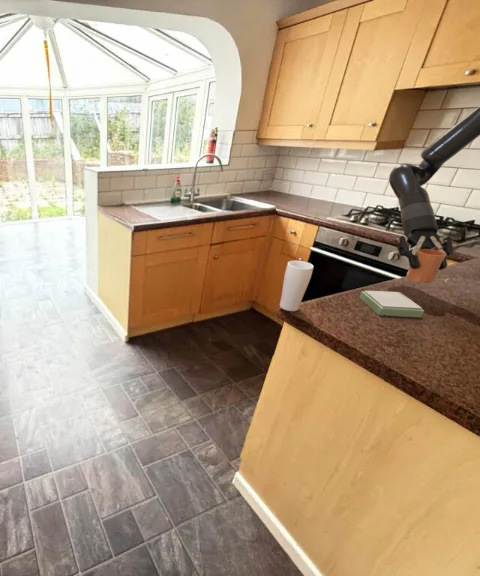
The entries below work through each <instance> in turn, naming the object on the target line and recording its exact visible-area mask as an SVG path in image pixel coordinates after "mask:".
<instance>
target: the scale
mask: <svg viewBox="0 0 480 576" xmlns="http://www.w3.org/2000/svg"><path fill="white" fill-rule="evenodd" d="M358 298H359V300H361V301H362V302H363V303H364V304H366V305H367V306H368V308H370V310H372V311H373V312H375V313H376V314H377V315H378V316H384V315H385V316H386V317H400V318H401V317H403V318H404V317H405V318H422V317H423V314H424V312H425V310H424V309H423V308H422V306H421V305H418V304H417V303H415V302H414V301H413V300H412V299H410V298H409V297H408V296H406V295H405V294H403V292H400V291H384V290H364V291H360V294H359V297H358Z"/></svg>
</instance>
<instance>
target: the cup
mask: <svg viewBox="0 0 480 576" xmlns="http://www.w3.org/2000/svg"><path fill="white" fill-rule="evenodd" d="M433 249H434V248H432V249H419V250H418V253H417V255H416V256H418V259H419V264H420V267H419V268H417V269H412V267H410V266H409V268H408V271H407V272H406V276H405V278H407V279H408V280H411V281H413V282H416V283H420V284H421V283H423V284H432V283H433V282H434V280H435V278H436V276H437V274H438V273H439V271H440V270H439V268H440V266H441V264H442V262H443V260H444V258H445V256H446V254H445V253H444V252H441V251H438V250H433Z"/></svg>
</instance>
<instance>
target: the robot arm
mask: <svg viewBox="0 0 480 576" xmlns="http://www.w3.org/2000/svg"><path fill="white" fill-rule="evenodd" d="M478 137H480V106H478V107H477V108H476V109H475V110H473V111H472V112H471V113H469V114H468V115H467V116H465V117H463V118H462V119H461V120H460V121H458V122H456V124H454V125H453V126H451V127H450V128H449V129H446V131H445V132H443V133H442V134H440V136H439V137H438V138H436V139H435V140H434V141H432V142H430V144H429V145H428V146H426V147H425V148H424V149H423V150H422V151H421V152H420V158H421V159H422V161H421V162H420V163H419V164H418V165H414V164H411V163H400V164H398V165H396V166H395V167H394V168H392V169H391V171H390V173H389V177H388V182H389V186H390V188H391V189H392V191H393V193H394V195H395V196H396V198H397V200H398V205H399V210H400V220H401V225H402V230H403V234H404V235H400V236H399V237H398V238H395V240H394V243H395V245H396V249H397V252H398V255H399V256H400V257H406V258H407V259H408V264H409V265H408V266H409V268H410V267H412V269H417V268H419V267H420V264H419V259H418V256H416V255H417V253H418V250H419V249H433V250H438V251H441V252H444V253H445V254H446V256H445V258H444V260H443V262H442V264H441V266H440V268H439V270H438V271H442V270H444V269H446V268H447V267H448V262H447V257H448V256H450V255H453V254H454V250H453V239H452V236H446V237H443V236H442V237H440V236H439V234H438V229H439V227H438V224H437V220H436V215H435V211H434V208H433V207H432V204H431V199H430V195H429V193H428V191H427V189H425V188H424V187H422V186H424V185H425V184H426V183H428V182H429V181H430V180H431V179H432V178H433V177H434V176H435V174H437V172H439V170H440V169H441V168H442V166H443V165H444V164H445V163H446V162H448V161H449V160H450V159H452V158H453V157H454V156H456V155H457V154H458V153H459V152H461V151H462V150H463V149H465V148H466V147H468V146H469V145H470V144H471V143H472V142H474V141H475V140H476V139H477V138H478Z"/></svg>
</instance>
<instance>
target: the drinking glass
mask: <svg viewBox="0 0 480 576" xmlns="http://www.w3.org/2000/svg"><path fill="white" fill-rule="evenodd" d="M313 271H314V265H313V264H312V263H311V262H307V261H304V260H289V261H287V265H286V267H285V272H284V277H283V282H282V290H281V296H280V302H279V307H280V309H282V310H284V311H286V312H297V311H298V310H299V309H300V305H301V303H302V300H303V298H304V296H305V293H306V291H307V288H308V286H309V284H310V281H311V279H312V275H313Z"/></svg>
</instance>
